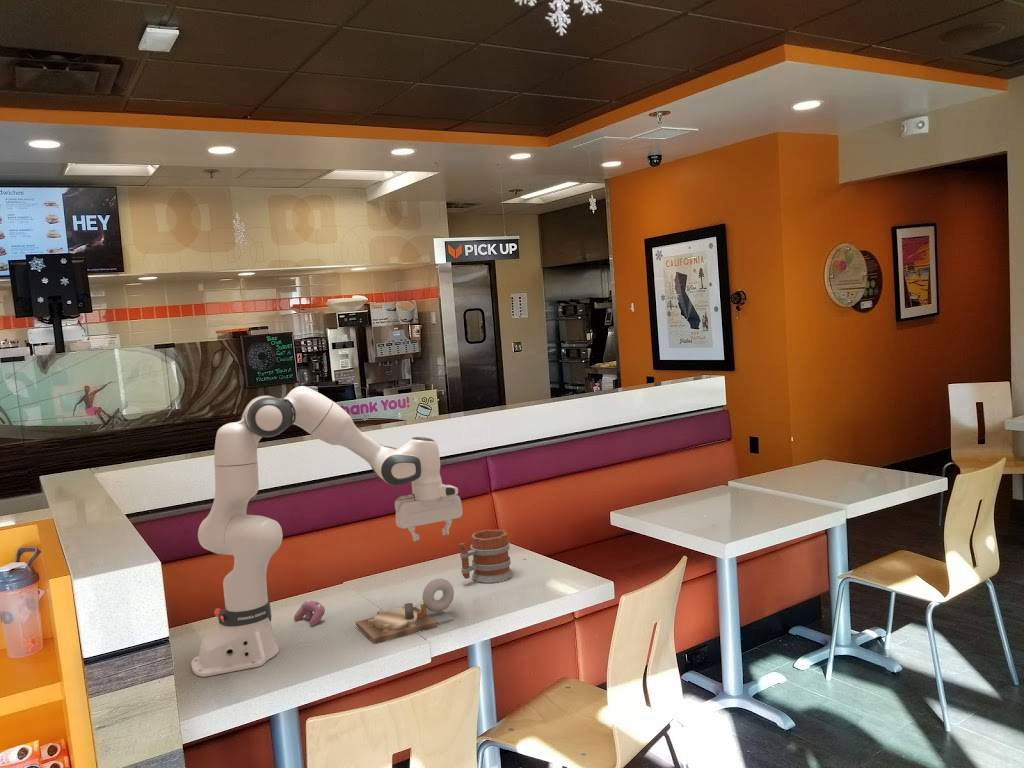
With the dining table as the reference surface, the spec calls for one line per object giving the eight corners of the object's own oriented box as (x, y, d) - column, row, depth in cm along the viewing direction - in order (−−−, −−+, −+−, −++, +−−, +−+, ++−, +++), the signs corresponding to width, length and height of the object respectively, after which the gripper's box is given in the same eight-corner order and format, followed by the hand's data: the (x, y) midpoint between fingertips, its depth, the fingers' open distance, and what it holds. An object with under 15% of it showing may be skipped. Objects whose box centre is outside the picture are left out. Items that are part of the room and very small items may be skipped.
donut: (421, 612, 235) (429, 578, 236) (417, 608, 238) (424, 575, 239) (451, 614, 240) (459, 581, 241) (446, 610, 243) (454, 578, 244)
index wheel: (402, 634, 223) (400, 614, 222) (357, 628, 230) (356, 609, 230) (432, 615, 236) (431, 596, 236) (390, 609, 244) (388, 591, 243)
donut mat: (438, 624, 233) (438, 622, 233) (421, 612, 244) (421, 610, 244) (454, 620, 235) (454, 618, 235) (436, 608, 247) (436, 606, 246)
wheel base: (374, 643, 222) (373, 628, 221) (356, 626, 236) (354, 611, 235) (437, 627, 231) (436, 611, 231) (416, 611, 245) (415, 597, 245)
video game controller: (322, 628, 241) (329, 605, 243) (310, 626, 238) (317, 602, 239) (303, 622, 247) (310, 599, 249) (291, 620, 244) (298, 596, 246)
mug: (521, 575, 272) (518, 532, 271) (476, 590, 260) (472, 545, 259) (495, 568, 283) (492, 526, 282) (451, 582, 271) (447, 538, 270)
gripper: (398, 499, 229) (402, 546, 230) (462, 487, 239) (466, 533, 240) (390, 495, 235) (394, 542, 236) (453, 484, 244) (457, 529, 245)
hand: (431, 537), depth 238 cm, fingers open, 8 cm apart
